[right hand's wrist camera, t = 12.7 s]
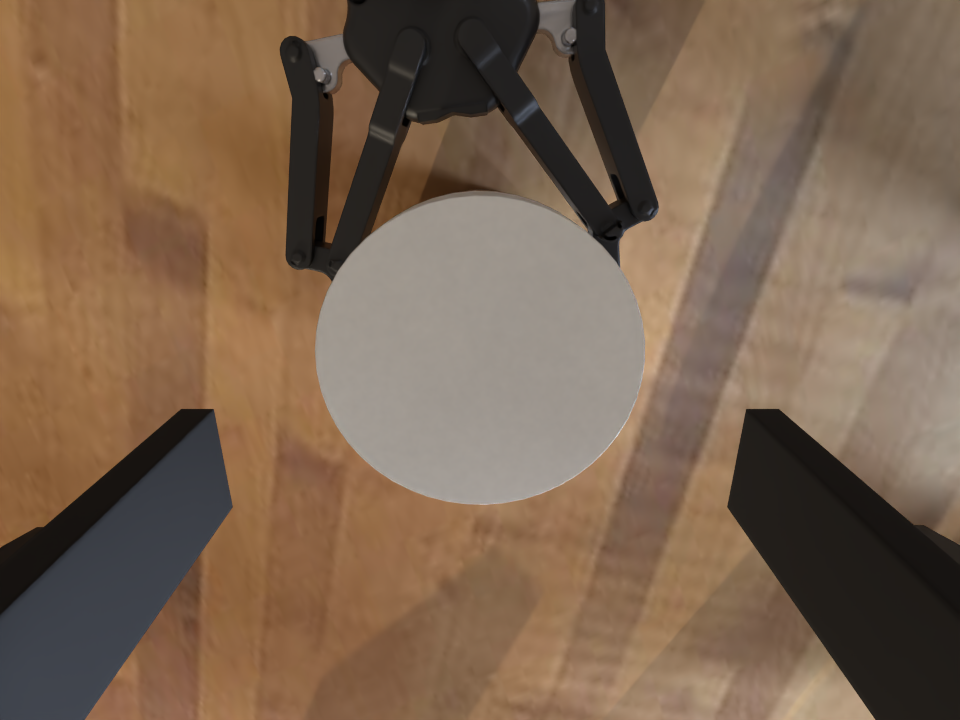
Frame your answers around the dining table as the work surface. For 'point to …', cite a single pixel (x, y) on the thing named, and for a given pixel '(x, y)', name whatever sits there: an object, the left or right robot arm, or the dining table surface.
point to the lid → (480, 348)
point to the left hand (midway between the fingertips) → (490, 376)
